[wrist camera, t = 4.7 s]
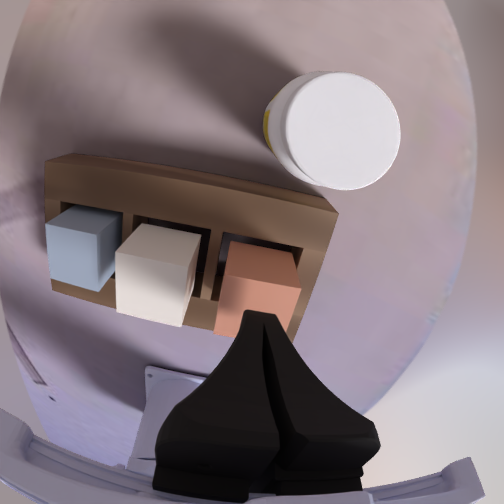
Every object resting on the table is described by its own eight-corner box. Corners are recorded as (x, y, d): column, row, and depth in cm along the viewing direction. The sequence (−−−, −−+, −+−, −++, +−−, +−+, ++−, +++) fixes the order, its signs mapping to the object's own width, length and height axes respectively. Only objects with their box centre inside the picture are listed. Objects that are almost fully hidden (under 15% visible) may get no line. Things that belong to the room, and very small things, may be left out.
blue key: (122, 261, 18) (98, 292, 15) (78, 251, 18) (50, 278, 14) (124, 211, 17) (96, 234, 13) (77, 203, 16) (45, 223, 13)
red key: (276, 303, 18) (281, 344, 14) (220, 293, 18) (213, 333, 14) (292, 252, 16) (301, 288, 13) (230, 240, 16) (224, 274, 13)
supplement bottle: (318, 178, 17) (366, 227, 10) (247, 142, 17) (243, 161, 9) (355, 112, 16) (431, 113, 8) (285, 72, 15) (314, 33, 7)
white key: (193, 287, 17) (181, 327, 14) (138, 275, 17) (116, 312, 14) (201, 234, 16) (187, 267, 13) (142, 223, 16) (115, 251, 12)
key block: (287, 316, 22) (292, 343, 19) (71, 270, 20) (52, 290, 17) (326, 198, 18) (338, 213, 15) (70, 153, 16) (44, 161, 14)
